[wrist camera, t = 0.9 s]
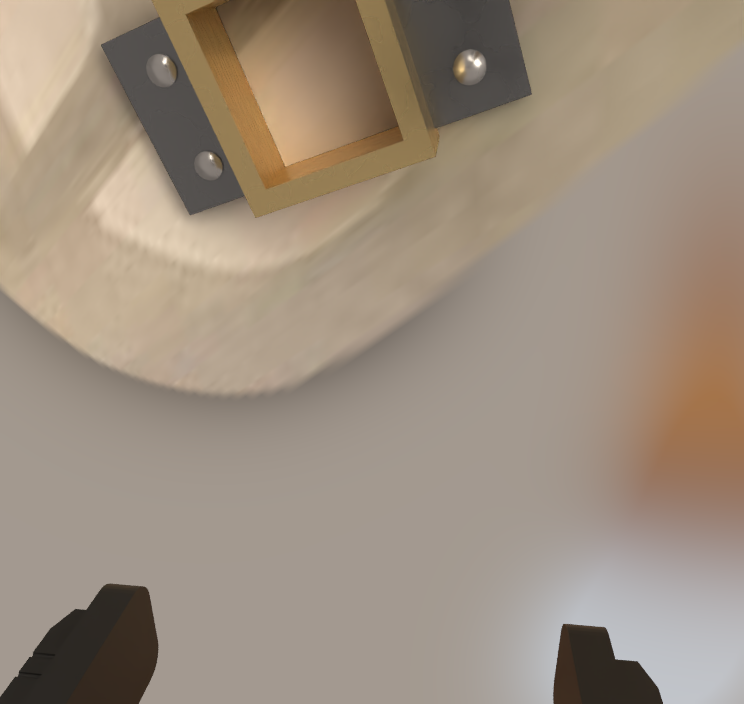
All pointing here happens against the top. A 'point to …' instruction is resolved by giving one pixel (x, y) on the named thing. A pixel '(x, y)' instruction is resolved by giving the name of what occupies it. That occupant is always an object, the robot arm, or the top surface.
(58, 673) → the robot arm
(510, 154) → the top surface
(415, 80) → the wooden frame on plate
